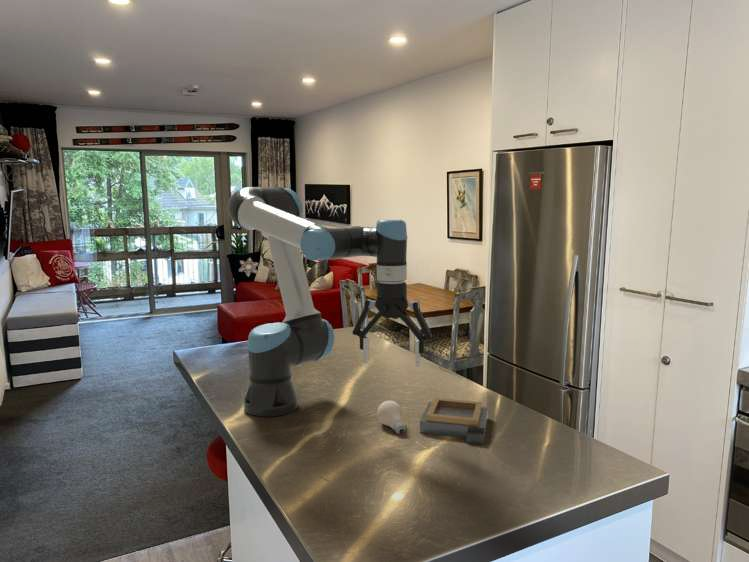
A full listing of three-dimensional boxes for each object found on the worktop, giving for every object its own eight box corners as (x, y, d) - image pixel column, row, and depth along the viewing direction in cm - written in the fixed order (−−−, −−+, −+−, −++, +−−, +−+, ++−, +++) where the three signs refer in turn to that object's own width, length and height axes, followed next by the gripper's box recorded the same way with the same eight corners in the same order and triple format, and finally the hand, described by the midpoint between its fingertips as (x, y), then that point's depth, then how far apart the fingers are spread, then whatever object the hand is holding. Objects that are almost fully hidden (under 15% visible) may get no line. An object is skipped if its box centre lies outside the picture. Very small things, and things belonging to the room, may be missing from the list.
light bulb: (413, 417, 138) (395, 392, 147) (389, 425, 136) (372, 399, 145) (414, 437, 141) (396, 411, 150) (390, 445, 139) (374, 419, 148)
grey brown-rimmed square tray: (417, 437, 137) (417, 419, 137) (431, 407, 158) (431, 391, 157) (482, 444, 133) (483, 426, 133) (488, 412, 153) (489, 397, 153)
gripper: (339, 282, 138) (341, 364, 141) (438, 285, 132) (438, 371, 135) (348, 278, 146) (349, 356, 149) (443, 281, 139) (442, 362, 142)
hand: (391, 363), depth 142 cm, fingers open, 13 cm apart
